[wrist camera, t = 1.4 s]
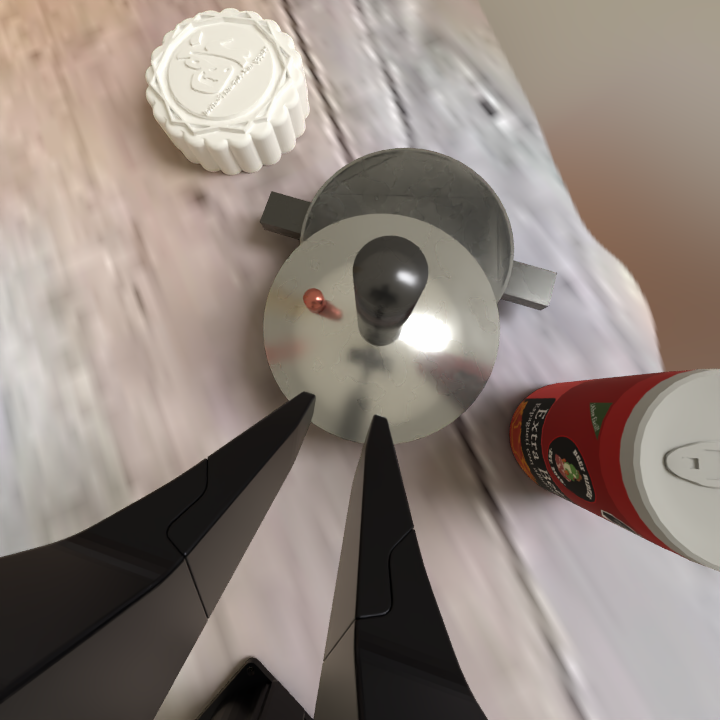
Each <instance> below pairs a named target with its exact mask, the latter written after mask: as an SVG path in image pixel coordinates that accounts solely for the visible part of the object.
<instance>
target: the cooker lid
mask: <svg viewBox="0 0 720 720" xmlns="http://www.w3.org/2000/svg"><path fill="white" fill-rule="evenodd" d="M499 334H500V324H499V313H498V308H497V303H496V299H495V296H494V293H493V290H492V287H491V285H490V283H489V281H488V279H487V277H486V275H485V273H484V271H483V270H482V268H481V267H480V265H479V264H478V262H477V261H476V259H475V258H474V257H473V256H472V255H471V254H470V253H469V251H468V250H467V249H466V248H465V247H464V246H463V245H461V244H460V243H459V242H458V241H457V240H456V239H454V238H453V237H452V236H450V235H449V234H447V233H446V232H444V231H443V230H441V229H439V228H437V227H435V226H433V225H431V224H429V223H426V222H424V221H421V220H418V219H415V218H411V217H407V216H402V215H395V214H367V215H360V216H354V217H351V218H347V219H344V220H341V221H338V222H336V223H333V224H331V225H329V226H327V227H325V228H323V229H321V230H320V231H318V232H316V233H315V234H313V235H312V236H311V237H309V238H308V239H307V240H305V241H304V242H303V243H302V244H301V245H300V246H299V247H298V248H297V249H295V250H294V251H293V252H292V254H291V255H290V256H289V257H288V259H287V260H286V261H285V262H284V264H283V265H282V267H281V269H280V270H279V272H278V274H277V275H276V277H275V279H274V282H273V284H272V286H271V288H270V291H269V294H268V298H267V301H266V305H265V312H264V318H263V338H264V346H265V352H266V356H267V360H268V364H269V366H270V369H271V371H272V374H273V376H274V379H275V380H276V382H277V384H278V386H279V387H280V389H281V391H282V392H283V394H284V395H285V396H286V398H287V399H288V400H291V399H292V398H294V397H295V396H297V395H298V394H300V393H301V392H303V391H305V392H309V393H312V394H314V395H315V396H316V401H315V407H314V413H313V417H312V420H311V422H312V423H313V424H315V425H316V426H318V427H320V428H321V429H323V430H325V431H327V432H329V433H331V434H333V435H336V436H338V437H341V438H343V439H346V440H350V441H354V442H358V443H364V442H365V438H366V435H367V432H368V429H369V426H370V423H371V420H372V418H373V415H375V414H377V415H380V416H383V417H386V418H387V420H388V423H389V427H390V431H391V436H392V440H393V444H399V443H405V442H410V441H413V440H417V439H420V438H424V437H426V436H428V435H430V434H433V433H435V432H437V431H439V430H441V429H442V428H444V427H445V426H447V425H449V424H450V423H452V422H453V421H454V420H456V419H457V418H458V417H459V416H460V415H462V414H463V413H464V412H465V411H466V410H467V409H468V408H469V407H470V405H471V404H472V403H473V402H474V401H475V400H476V398H477V397H478V395H479V394H480V393H481V391H482V390H483V388H484V386H485V384H486V382H487V380H488V378H489V377H490V375H491V372H492V369H493V366H494V363H495V360H496V356H497V351H498V346H499Z"/></svg>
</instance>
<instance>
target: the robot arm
mask: <svg viewBox="0 0 720 720" xmlns="http://www.w3.org/2000/svg"><path fill="white" fill-rule="evenodd" d="M315 401H316V396H315V395H314V394H312V393H309V392H305V391H303V392H301V393H300V394H298V395H297V396H295V397H294V398H292V399H291V400H289V401H288V402H287V403H285V404H284V405H282V406H281V407H279V408H278V409H276V410H275V411H274V412H272V413H271V414H269V415H268V416H266V417H265V418H263V419H262V420H261V421H259V422H258V423H256V424H255V425H253V426H252V427H250V428H249V429H247V430H246V431H245V432H243V433H242V434H240V435H239V436H237V437H236V438H234V439H233V440H232V441H230V442H229V443H227V444H226V445H224V446H223V447H221V448H220V449H219V450H217V451H216V452H214V453H213V454H211V455H210V456H208V460H207V459H204V460H202V461H201V462H199V463H198V464H197V465H195V466H194V467H192V468H191V469H189V470H188V471H186V472H185V473H183V474H182V475H180V476H179V477H177V478H175V479H174V480H172V481H171V482H169V483H167V484H165V485H164V486H162V487H160V488H159V489H157V490H155V491H154V492H152V493H150V494H148V495H147V496H145V497H143V498H141V499H140V500H138V501H136V502H134V503H132V504H131V505H129V506H127V507H125V508H124V509H122V510H120V511H118V512H116V513H115V514H113V515H111V516H109V517H108V518H106V519H104V520H102V521H100V522H99V523H97V524H95V525H93V526H91V527H90V528H88V529H86V530H84V531H82V532H80V533H77V534H75V535H73V536H71V537H68V538H66V539H63V540H60V541H57V542H55V543H52V544H48V545H45V546H41V547H37V548H34V549H30V550H26V551H22V552H19V553H15V554H11V555H8V556H4V557H0V720H153V719H154V717H155V716H156V714H157V712H158V710H159V708H160V706H161V705H162V703H163V701H164V699H165V697H166V695H167V694H168V692H169V690H170V688H171V686H172V685H173V683H174V681H175V679H176V677H177V675H178V674H179V672H180V670H181V668H182V666H183V665H184V663H185V661H186V659H187V657H188V655H189V654H190V652H191V650H192V648H193V646H194V645H195V643H196V641H197V639H198V637H199V635H200V634H201V632H202V630H203V628H204V626H205V625H206V623H207V621H208V618H209V617H210V615H211V613H212V612H213V610H214V608H215V606H216V604H217V603H218V601H219V599H220V597H221V595H222V593H223V592H224V590H225V588H226V586H227V584H228V583H229V581H230V579H231V577H232V575H233V573H234V572H235V570H236V568H237V566H238V564H239V563H240V561H241V559H242V557H243V555H244V553H245V552H246V550H247V548H248V546H249V544H250V542H251V541H252V539H253V537H254V535H255V533H256V532H257V530H258V528H259V526H260V524H261V522H262V521H263V519H264V517H265V515H266V513H267V512H268V510H269V508H270V506H271V504H272V502H273V501H274V499H275V497H276V495H277V493H278V492H279V490H280V488H281V486H282V484H283V482H284V481H285V479H286V477H287V475H288V473H289V471H290V470H291V468H292V466H293V464H294V461H295V459H296V457H297V455H298V452H299V450H300V447H301V445H302V442H303V440H304V437H305V435H306V432H307V430H308V427H309V425H310V422H311V420H312V417H313V413H314V407H315ZM413 528H414V525H413V521H412V517H411V513H410V509H409V505H408V501H407V497H406V493H405V488H404V484H403V480H402V476H401V472H400V468H399V464H398V460H397V456H396V452H395V448H394V444H393V440H392V436H391V431H390V427H389V423H388V420H387V418H386V417H383V416H380V415H377V414H375V415H373V418H372V420H371V423H370V426H369V429H368V432H367V435H366V438H365V442H364V445H363V449H362V452H361V455H360V459H359V462H358V466H357V469H356V473H355V476H354V480H353V484H352V489H351V495H350V501H349V507H348V513H347V519H346V525H345V531H344V537H343V543H342V549H341V556H340V562H339V568H338V574H337V580H336V586H335V592H334V598H333V604H332V610H331V616H330V622H329V628H328V635H327V641H326V647H325V653H324V659H323V661H324V662H323V665H322V671H321V677H320V683H319V689H318V695H317V701H316V707H315V713H314V719H312V718H311V717H310V716H309V715H308V713H307V712H306V711H305V710H304V708H303V707H302V706H301V705H300V704H299V703H298V702H297V701H296V700H295V699H294V698H293V696H292V695H291V694H290V693H289V692H288V691H287V690H286V689H285V688H284V687H283V686H282V685H281V683H280V682H279V681H277V680H276V679H275V678H274V676H273V675H272V674H271V673H270V672H269V671H268V670H267V669H266V668H265V667H264V666H263V665H262V663H261V662H260V661H259V660H258V659H256V658H250V659H249V660H247V661H246V663H245V664H244V665H243V666H242V667H241V668H240V669H239V671H238V672H237V673H236V674H235V675H234V676H233V678H232V679H231V680H230V681H229V682H228V683H227V684H226V686H225V687H224V688H223V689H222V690H221V691H220V692H219V694H218V695H217V696H216V697H215V698H214V699H213V700H212V702H211V703H210V704H209V705H208V706H207V707H206V708H205V710H204V711H203V712H202V713H201V714H200V715H199V716H198V718H197V719H196V720H488V719H487V717H486V716H485V714H484V712H483V711H482V709H481V708H480V706H479V704H478V703H477V701H476V699H475V697H474V696H473V694H472V692H471V690H470V688H469V686H468V684H467V682H466V680H465V678H464V675H463V673H462V670H461V668H460V666H459V663H458V660H457V658H456V655H455V652H454V650H453V647H452V644H451V641H450V638H449V636H448V633H447V630H446V627H445V624H444V622H443V619H442V616H441V613H440V611H439V608H438V605H437V602H436V599H435V597H434V594H433V591H432V588H431V585H430V582H429V579H428V576H427V573H426V570H425V567H424V563H423V559H422V556H421V552H420V549H419V545H418V541H417V537H416V533H415V530H414V529H413ZM249 667H253V668H254V670H250V668H249Z"/></svg>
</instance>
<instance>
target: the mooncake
mask: <svg viewBox="0 0 720 720" xmlns="http://www.w3.org/2000/svg"><path fill="white" fill-rule="evenodd" d="M162 43H163V45H162V46H159V47H157V48H156V49H155V50H154V51H153V52H152V55H151V64H152V65H151V66H149V68H148V69H147V71H146V74H145V78H146V82H147V84H148V85H149V86H148V88H147V90H146V98H147V101H148V103H149V104H150V105H151V107H152V108H153V116H154V118H155V119H156V121H157V122H158V123H159V125H160V126H161V127H162V129H163V130H164V132H165V133H166V134H167V136H168V137H169V138H170V140H171V141H172V142H173V144H174V145H175V146H176V147H177V148H178V149H180V150H181V151H182V152H183V154H184V155H185V157H186V158H187V159H188V160H189V161H190V162H192V163H196V164H199V163H200V164H201V165H202V167H203V168H204V169H206V170H207V171H210V172H217V171H219V170H221V171H222V172H223V173H225V174H227V175H236V174H238V173H240V172H241V171H242V170H243V171H244V172H247V173H254V172H257V171H259V170H260V169H261V168H262V166H263V165H266V166H270V165H274V164H276V163H277V162H278V161H279V160H280V158H281V154H285V153H288V152H290V151H291V150H293V148H294V147H295V144H296V139H295V138H298V137H300V136H301V135H302V134H303V133H304V131H305V119H306V118H307V117H308V115H309V111H310V108H309V102H308V90H307V84H306V79H305V74H304V68H303V63H302V58H301V56H300V54H299V53H298V52H297V51H296V50H295V46H294V42H293V40H292V38H291V37H290V36H289V35H288V34H286V33H284V32H281V30H280V27H279V26H278V24H277V23H276V22H274V21H273V20H269V19H264V20H263V19H262V18H261V16H260V15H259V14H257V13H256V12H253V11H242V12H239V11H238V10H236V9H234V8H227V9H224V10H223V11H221V12H220V13H218V12H216V11H212V10H209V11H205V12H203V13H198V14H197V15H196V16H195V17H194V18H188V19H185V20H184V21H182V22H181V23H180V24H177V25H176V27H175V30H172V31H169V32H168V33H167V34H166V35H165V36H164V38H163V42H162Z"/></svg>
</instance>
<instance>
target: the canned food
mask: <svg viewBox="0 0 720 720" xmlns="http://www.w3.org/2000/svg"><path fill="white" fill-rule="evenodd" d="M509 437H510V445H511V448H512V451H513V454H514V456H515V458H516V460H517V462H518V464H519V465H520V467H521V468H522V469H523V470H524V472H525V473H526V474H527V475H528V477H529V478H531V479H532V480H533V481H534V482H535V483H536V484H538V485H539V486H541V487H543V488H544V489H546V490H548V491H550V492H552V493H554V494H556V495H558V496H560V497H562V498H564V499H566V500H568V501H570V502H572V503H574V504H576V505H578V506H580V507H582V508H584V509H586V510H588V511H590V512H592V513H594V514H596V515H598V516H600V517H602V518H604V519H606V520H608V521H610V522H612V523H614V524H616V525H618V526H620V527H622V528H624V529H626V530H628V531H630V532H632V533H634V534H636V535H638V536H640V537H642V538H644V539H646V540H648V541H650V542H652V543H654V544H656V545H658V546H660V547H662V548H664V549H667V550H669V551H672V552H674V553H676V554H678V555H680V556H682V557H684V558H686V559H688V560H690V561H692V562H695V563H698V564H701V565H703V566H706V567H709V568H711V569H714V570H717V571H720V369H696V370H686V371H671V372H661V373H651V374H642V375H632V376H622V377H613V378H603V379H593V380H583V381H574V382H564V383H556V384H552V385H547V386H545V387H542V388H540V389H538V390H536V391H535V392H533V393H532V394H530V395H529V396H528V397H526V398H525V399H524V400H523V401H522V402H521V404H520V405H519V406H518V407H517V409H516V411H515V412H514V414H513V417H512V420H511V423H510V431H509Z"/></svg>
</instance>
